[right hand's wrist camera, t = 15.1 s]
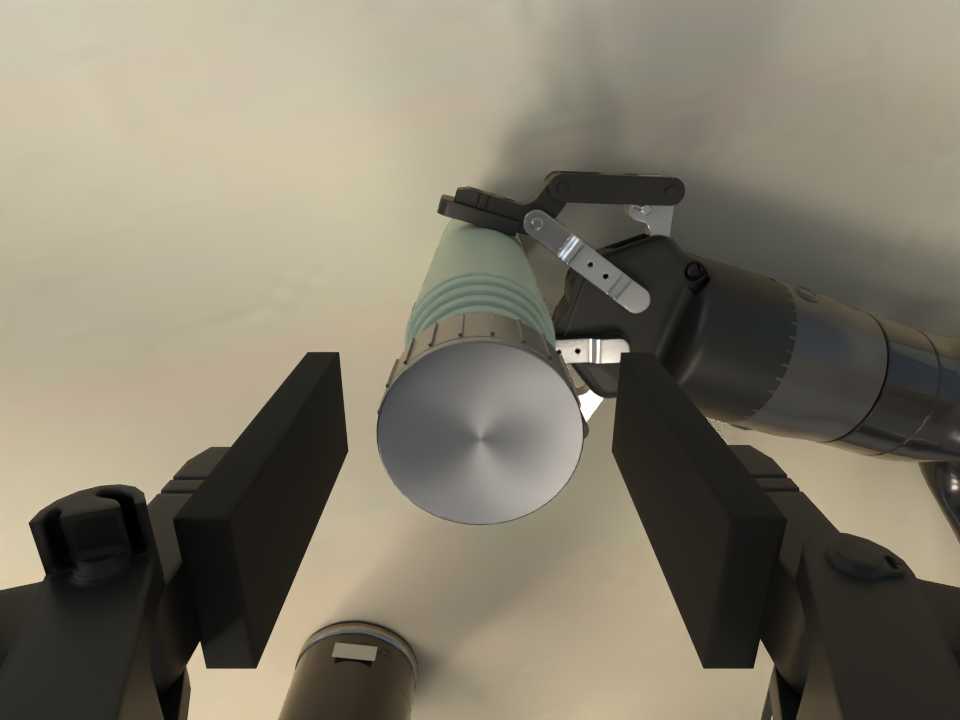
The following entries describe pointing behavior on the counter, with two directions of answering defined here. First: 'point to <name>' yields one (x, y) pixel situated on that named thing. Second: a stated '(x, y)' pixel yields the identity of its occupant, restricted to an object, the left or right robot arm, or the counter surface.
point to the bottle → (479, 281)
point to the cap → (480, 420)
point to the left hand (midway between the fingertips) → (427, 259)
